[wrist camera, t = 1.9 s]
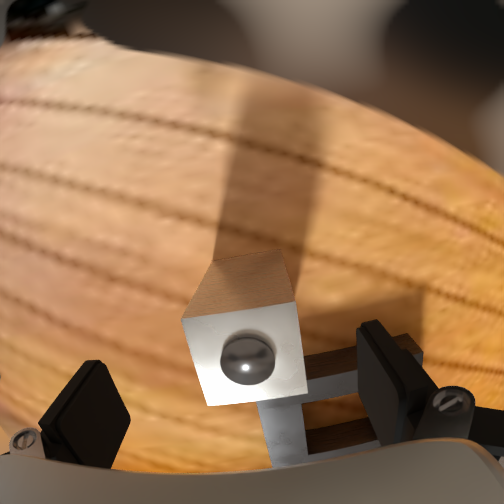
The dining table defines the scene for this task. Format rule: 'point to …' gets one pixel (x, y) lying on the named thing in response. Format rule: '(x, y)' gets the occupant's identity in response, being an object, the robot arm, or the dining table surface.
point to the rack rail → (319, 388)
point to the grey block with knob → (246, 331)
